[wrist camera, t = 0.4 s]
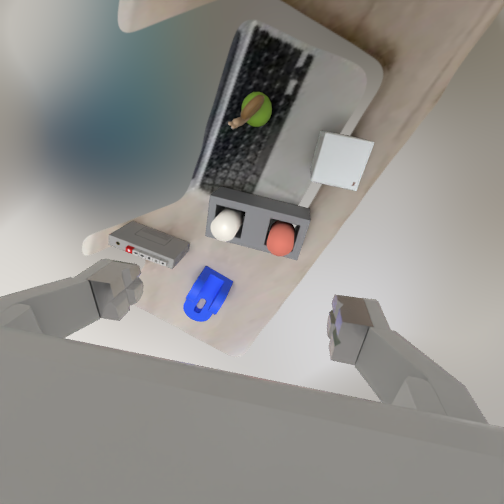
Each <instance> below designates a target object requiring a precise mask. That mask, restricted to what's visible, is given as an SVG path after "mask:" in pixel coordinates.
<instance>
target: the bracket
mask: <svg viewBox="0 0 504 504" xmlns="http://www.w3.org/2000/svg"><path fill="white" fill-rule="evenodd" d="M232 283H233V281H232V280H230V279H228V278H226V277H225V276H223V275H221V274H220V273H218V272H216V271H214V270H213V269H211V268H209V267H208V266H206V267H205V268H204V270H203V271H202V273H201V274H200V276H199V277H198V279H197V280H196V282H195V283H194V285H193V287H192V288H191V290H190V292H189V293H188V295H187V297H186V299H187V300H186V301H185V303H184V311H185V313H186V315H187V316H188V317H189V318H191V319H193V320H195V321H200V322H202V321H206V320H208V319H209V318H210V317H211V315H212V314H216V313H217V312H218V311H219V309H220V307H221V306H222V304H223V302H224V301H225V299H226V297H227V295H228V292H229V290H230V288H231V286H232ZM201 298H204V299H205V300H206V301H207V302H206V304H205V305H204V307H203V308H202V309H199V308H197V306H196V305H197V303H198V301H199V300H200V299H201Z"/></svg>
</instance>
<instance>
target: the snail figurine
mask: <svg viewBox="0 0 504 504" xmlns="http://www.w3.org/2000/svg"><path fill="white" fill-rule="evenodd" d="M271 113H272V105H271V102H270V100H269V98H268V97H267V96H266V95H265V94H263V93H261V92H253V93H250V94H249V95H248V96H247V97H246V98H245V99H244V101H243V104H242V111H241V117H239V118H236V119H233V120H232V122H228V125H229V126H231V125H232V126H231V128H232V129H234V128H237V127H238V126H241V125H243V124H244V123H245V122H247V123H248V124H249V125H251V126H254V127H260V126H262V125H264V124H266V123H267V122H268V120H269V119H270V117H271Z"/></svg>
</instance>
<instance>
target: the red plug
mask: <svg viewBox="0 0 504 504" xmlns="http://www.w3.org/2000/svg"><path fill="white" fill-rule="evenodd" d="M294 232H295V229H294V226H293V225H292V223H288V222H284V221H280V220H277V221H275V222H274V223H273V224H272V226H271V229H270V232H269V236H268V239H267V248H268V250H269V251H270V252H271V253H272V254H274V255H276V256H285V255H287V254H289V253H290V252H291V251H292V249H293V245H294Z"/></svg>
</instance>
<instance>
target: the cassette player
mask: <svg viewBox="0 0 504 504" xmlns="http://www.w3.org/2000/svg"><path fill="white" fill-rule="evenodd" d="M109 245H111V246H113V247H116V248H119V249H121V250H124V251H126V252H128V253H131V254H134V255H137V256H139V257H142V258H144V259H147V260H149V261H152V262H154V263H157V264H160V265H162V266H165V267H168V268H170V269H173V268H174V267H175V266H176V264H177V263H178V262H179V261H180V260H181V259H182V258H183V257H184V255H185V254H186V253H187V252H188V249H189V245H190V243H189V242H186V241H184V240H181V239H179V238H176V237H173V236H171V235H168V234H166V233H163V232H160V231H158V230H155V229H153V228H150V227H147V226H145V225H142V224H140V223H137V222H134V221H132V222H130V223H128V224H127V225H125V226H123V227H121V228H120V229H118V230H116V231H114V232H113V233H111V234H109Z"/></svg>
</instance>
